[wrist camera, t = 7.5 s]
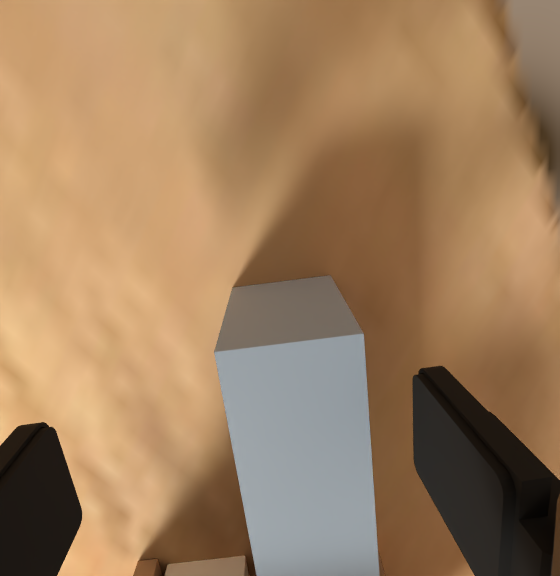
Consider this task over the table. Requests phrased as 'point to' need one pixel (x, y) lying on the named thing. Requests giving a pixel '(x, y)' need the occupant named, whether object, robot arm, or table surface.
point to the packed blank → (210, 567)
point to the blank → (300, 427)
